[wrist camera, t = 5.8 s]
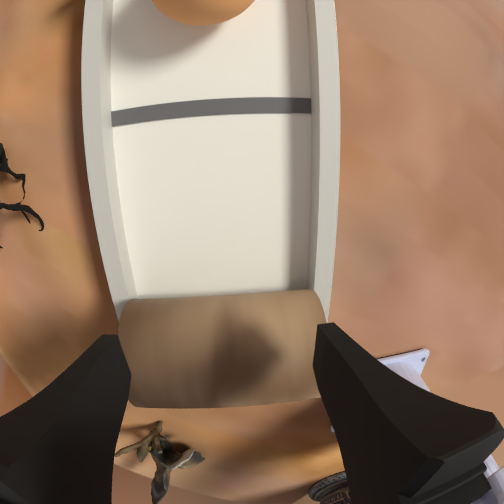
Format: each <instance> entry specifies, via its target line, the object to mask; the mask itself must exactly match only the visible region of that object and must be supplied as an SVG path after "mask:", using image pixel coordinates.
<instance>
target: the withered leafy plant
mask: <svg viewBox="0 0 504 504" xmlns="http://www.w3.org/2000/svg"><path fill="white" fill-rule="evenodd" d="M161 431H162V421H159V422H158V424H157V427H155V428H153V431H151V432H150V434H149V435H148V436H146V437H145V438H144V439H143V440H142V441H140V442H138V443H135V444H133V445H130V446H127V447H125V448H122V449H120V450H119V451H118V452H117V453H116V454H114V457H118V456H120V455H122V454H126V453H128V452H130V451H132V450H135V449H138V450H137V456H138V458H139V459H140V463H142V461H143V460H144V458H145V457H146V456H147V454H148V452H150V453H151V455H152V458H153V459H154V461H155V462H156V466H157V471H156V472H155V477H154V478H153V480H152V490H151V495H152V502H153V504H158V503H159V502H160V501H161V499H162V498H163V497H164V496H165V494H166V492H167V490H168V487H169V482H170V472H171V471H172V470H173V469H175V468H177V467H178V468H182V469H185V468H191V467H193V466H195V465H197V464H199V463H200V462H202V461H203V460H204V459H205V458H202V456H201V454H200V453H199V452H196V451H194V449H189V450H187V451H185V452H183V453H182V454H179V453H178V452H177V451H175V450H174V449H173V448H172V446H171V444H170V443H169V442H168V441H167V439H168V436H161V435H160V433H161ZM160 444H161V446H160Z"/></svg>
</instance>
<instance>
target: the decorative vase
mask: <svg viewBox="0 0 504 504" xmlns="http://www.w3.org/2000/svg"><path fill="white" fill-rule="evenodd" d="M308 494H309V497H310V498H311V499H312V500H314V501H319V502H320V504H351V498H350V493H349V487H348V482H347V477H346V473H345V471H344V472H341V473H338V474H335V475H332V476H330V477H327V478H325V479H323V480H321V481H319V482H317V483H316V484H314V485H313V486H312V487H311V488H310V489H309V492H308Z"/></svg>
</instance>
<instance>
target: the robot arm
mask: <svg viewBox="0 0 504 504" xmlns="http://www.w3.org/2000/svg"><path fill="white" fill-rule="evenodd" d="M428 355H429V351H428V349H421V350H417V351H413V352H409V353H404V354H400V355H395V356H391V357H386V358H381V359H376V358H374V357H373V356H372V355H371V354H369V353H368V352H367V351H366V350H365V349H363V348H362V347H361V346H360V345H359V344H357V343H356V342H355V341H354V340H353V339H352V338H351V337H349V336H348V335H347V334H346V333H345V332H344V331H343V330H342V329H340V328H339V327H338V326H337V325H336V324H335V323H334V322H333V323H325V324H317V332H316V341H315V349H314V357H313V365H312V366H313V370H314V374H315V379H316V383H317V387H318V390H319V393H320V395H321V398H322V401H323V403H324V406H325V409H326V411H327V414H328V416H329V419H330V421H331V424H332V426H331V431H332V432H335V434H336V437H337V440H338V444H339V447H340V451H341V455H342V459H343V464H344V468H345V473H346V477H347V482H348V487H349V493H350V498H351V504H504V466H503V467H502V468H500V469H499V467H498V466H497V464H496V462H495V461H494V459H493V457H492V455H491V453H492V452H493V451H494V450H495V449H496V448H497V447H498V445H499V444H500V443H501V442H502V440H503V438H504V428H503V427H502V425H501V424H500V422H499V421H498V420H497V418H496V417H495V415H494V414H493V413H492V412H488V411H484V410H479V409H475V408H471V407H467V406H464V405H461V404H458V403H455V402H453V401H450V400H447V399H445V398H442V397H440V396H437V395H435V394H433V393H431V392H430V390H429V389H428V387H427V385H426V384H425V382H424V381H423V379H422V378H421V376H420V375H421V372H422V370H423V368H424V365H425V363H426V360H427V358H428ZM131 375H132V374H131V372H130V369H129V366H128V363H127V361H126V358H125V355H124V352H123V349H122V346H121V343H120V340H119V337H118V335H102V336H101V337H100V338H99V339H97V340H96V341H95V342H94V343H93V344H92V345H91V346H90V347H89V348H88V349H87V350H86V351H85V352H84V353H83V354H82V355H81V356H80V357H79V358H78V359H77V360H76V361H75V362H74V363H73V364H72V365H71V366H70V367H68V368H67V369H66V370H65V371H64V372H63V373H62V374H61V375H60V376H58V377H57V378H56V379H55V380H54V381H53V382H52V383H51V384H49V385H48V386H47V387H46V388H44V389H43V390H42V391H41V392H39V393H38V394H37V395H35V396H34V397H32V398H31V399H30V400H28V401H27V402H25V403H23V404H22V405H20V406H19V407H17V408H15V409H14V410H12V411H11V412H9V413H7V414H5V415H3V416H1V417H0V504H111V493H112V492H111V491H112V473H113V463H114V454H115V448H116V443H117V439H118V435H119V432H120V428H121V424H122V420H123V416H124V413H125V409H126V405H127V401H128V397H129V390H130V383H131Z"/></svg>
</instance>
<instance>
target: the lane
mask: <svg viewBox="0 0 504 504" xmlns="http://www.w3.org/2000/svg"><path fill="white" fill-rule="evenodd" d="M81 89H82V117H83V133H84V145H85V156H86V165H87V173H88V181H89V189H90V196H91V202H92V208H93V214H94V220H95V226H96V231H97V236H98V241H99V246H100V251H101V255H102V260H103V264H104V269H105V273H106V277H107V281H108V285H109V289H110V293H111V296H112V300H113V304H114V307H115V311H116V314H117V318H118V321H119V320H120V316H121V313H122V310H123V308H124V306H125V304H126V303H127V302H128V301H129V300H131V299H151V298H177V297H198V296H217V295H234V294H249V293H264V292H277V291H290V290H303V289H313V290H314V291H315V292H316V293H317V295H318V297H319V299H320V301H321V304H322V307H323V310H324V313H325V317H326V322H328V314H329V306H330V297H331V288H332V278H333V268H334V256H335V244H336V230H337V215H338V196H339V169H340V83H339V58H338V41H337V27H336V14H335V4H334V0H255V1H254V2H253V3H252V5H250V6H249V7H248V8H247V9H246V10H245V11H244V12H242V13H241V14H239V15H238V16H236V17H234V18H232V19H230V20H228V21H225V22H222V23H218V24H213V25H205V26H197V25H188V24H184V23H180V22H177V21H175V20H173V19H171V18H169V17H167V16H166V15H164V14H163V13H162V12H161V11H160V10H159V9H157V8H156V6H155V5H154V3H153V2H152V0H86V1H85V10H84V22H83V36H82V63H81Z"/></svg>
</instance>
